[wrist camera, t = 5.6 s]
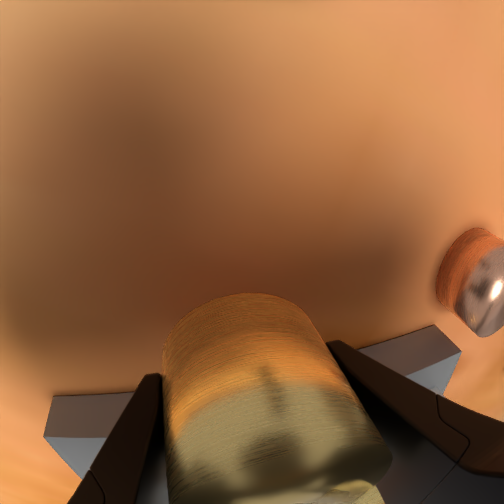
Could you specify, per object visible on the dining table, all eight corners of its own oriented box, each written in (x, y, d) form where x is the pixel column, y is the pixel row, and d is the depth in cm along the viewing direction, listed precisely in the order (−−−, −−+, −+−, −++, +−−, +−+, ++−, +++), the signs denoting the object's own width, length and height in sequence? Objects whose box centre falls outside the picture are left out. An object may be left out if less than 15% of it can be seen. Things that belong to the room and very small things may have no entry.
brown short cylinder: (479, 295, 15) (513, 322, 13) (427, 314, 14) (463, 349, 12) (497, 223, 13) (538, 246, 11) (444, 232, 13) (491, 261, 10)
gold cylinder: (320, 279, 8) (421, 409, 4) (312, 392, 10) (366, 503, 6) (144, 307, 7) (135, 478, 3) (180, 417, 9) (196, 544, 5)
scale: (378, 462, 21) (398, 497, 18) (147, 511, 18) (151, 553, 14) (434, 324, 15) (480, 371, 11) (53, 396, 12) (36, 467, 8)
